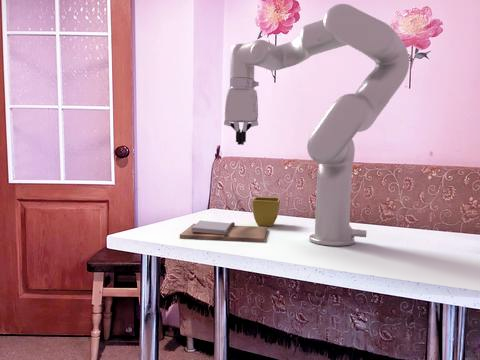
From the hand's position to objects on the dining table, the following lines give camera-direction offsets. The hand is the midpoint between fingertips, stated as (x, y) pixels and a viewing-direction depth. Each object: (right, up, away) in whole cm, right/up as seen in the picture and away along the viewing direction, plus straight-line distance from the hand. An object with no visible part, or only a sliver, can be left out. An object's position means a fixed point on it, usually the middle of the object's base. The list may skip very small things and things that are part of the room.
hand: (240, 144), depth 137 cm
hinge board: (-4, -27, -5) cm, 28 cm away
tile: (-9, -25, -5) cm, 27 cm away
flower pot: (+9, -27, +11) cm, 30 cm away
